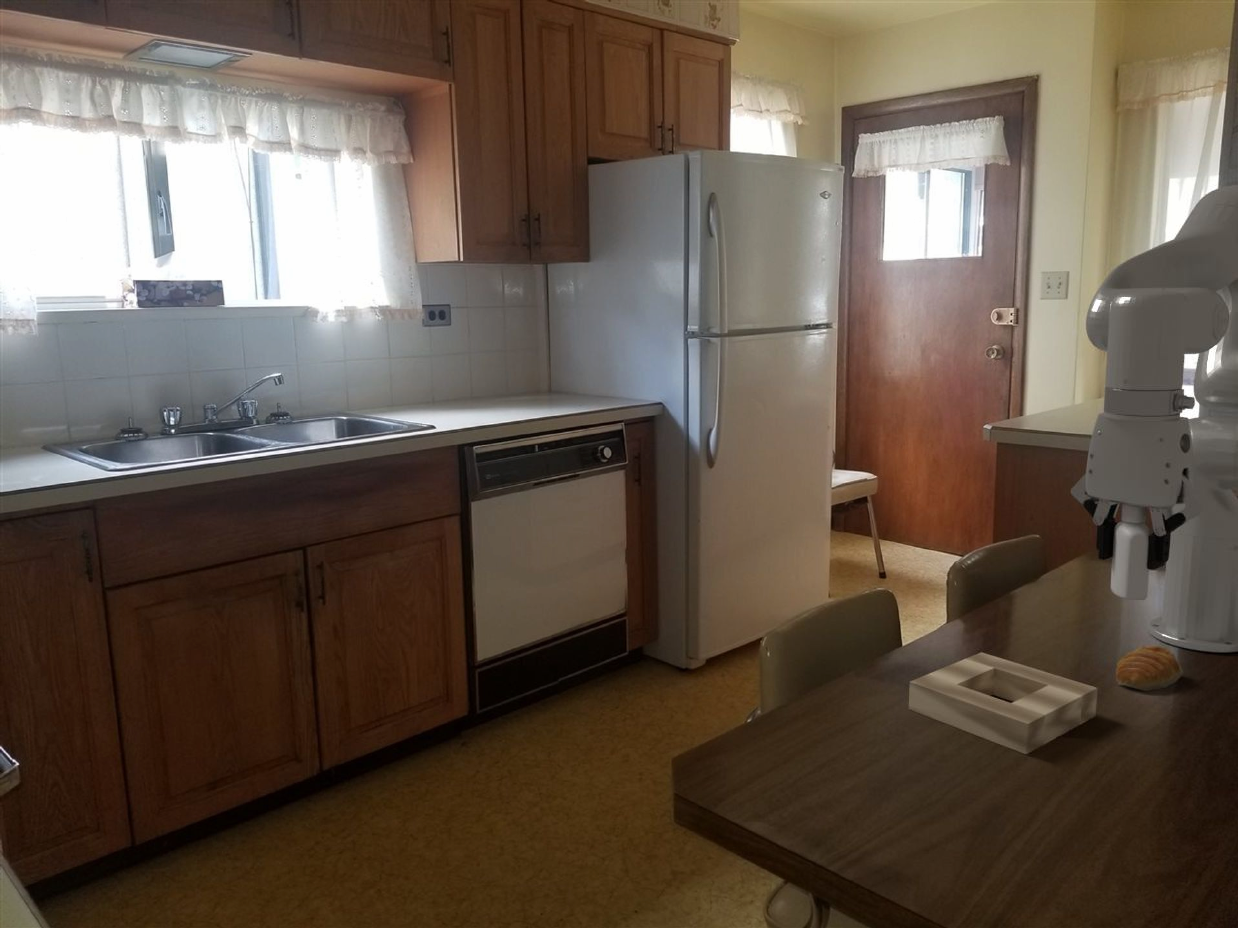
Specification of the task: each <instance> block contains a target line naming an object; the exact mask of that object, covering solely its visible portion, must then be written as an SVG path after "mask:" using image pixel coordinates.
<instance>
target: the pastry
mask: <svg viewBox="0 0 1238 928" xmlns="http://www.w3.org/2000/svg"><path fill="white" fill-rule="evenodd" d="M1183 674H1184V670H1183V668H1182V667H1181V665H1180V663H1179V661H1178V660H1177V658H1176V657H1175V654H1174V653H1173V652H1171V651H1170V650H1169V649H1167V648H1165V647H1162V646H1159V645H1150V646H1146V645H1141V646H1140V647H1139V648H1136V649H1134V650H1133V651H1130V652H1128V653H1125V655H1123V657H1122V658H1120V659H1119V660H1118V661H1117V664H1116V671H1115V681H1116V682H1117V684H1118V686H1127V687H1130V688H1132V689H1133V688H1134V689H1137V690H1140V691H1144V692H1145V691H1146V692H1149V691H1151V690H1158V689H1165V688H1167V687H1168V686H1171V685H1173V684H1174V683H1176V682H1177V681H1178V680H1179V679H1180V678H1181V677H1182V675H1183Z"/></svg>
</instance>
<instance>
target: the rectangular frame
mask: <svg viewBox="0 0 1238 928" xmlns="http://www.w3.org/2000/svg"><path fill="white" fill-rule="evenodd" d="M994 696H996V697H994ZM997 697H998V698H997ZM999 698H1001V699H999ZM1004 699H1005V700H1008V701H1005V700H1004ZM1009 701H1011V702H1009ZM1097 701H1098V687H1095V686H1092V685H1090V684H1089V685H1088V684H1086V683H1082V682H1079V681H1075V680H1073V679H1069V678H1067V677H1063V676H1060V675H1057V674H1053V673H1049V672H1046V671H1044V670H1041V669H1037V668H1034V667H1031V666H1028V665H1027V666H1026V665H1024V664H1021V663H1017V662H1013V661H1010V660H1008V659H1005V658H1001V657H998V656H995V655H992V654H991V655H990V654H988V653H985V652H979V653H977V654H974V655H970V656H969V657H966V658H964V659H962V660H959V661H957V662H954V663H952V664H950V665H946V666H944V667H942V668H940V669H937V670H935V671H932V672H930V673H928V674H925V675H922V676H920V677H918V678H915V679H913V680H911V681H909V691H908V710H910V711H913V712H915V713H918V714H920V715H923V716H926V717H928V718H931V719H933V720H935V721H938V722H941V723H944V724H946V725H949V726H951V727H954V728H956V729H959V730H961V731H964V732H967V733H970V734H972V735H975V736H977V737H979V738H981V739H985V740H987V741H989V742H993V743H996V744H998V745H1001V746H1003V747H1006V748H1009V749H1011V750H1014V751H1016V752H1019V753H1021V754H1024V755H1028V754H1029V753H1031V752H1033V751H1036V750H1037V749H1039V748H1040V747H1043V746H1045V745H1046V744H1047V743H1050V742H1052V741H1053V740H1055V739H1057V738H1059V737H1061V736H1062V735H1064V734H1066V733H1068V732H1070V731H1072V730H1074V728H1077V727H1079V726H1080V725H1082V724H1084V723H1086V722H1088V721H1089V719H1090V720H1091V719H1094V718H1095V717H1096V715H1097ZM1078 725H1079V726H1078ZM1069 730H1070V731H1069ZM1058 736H1059V737H1058ZM1056 737H1057V738H1056Z"/></svg>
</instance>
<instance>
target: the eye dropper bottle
mask: <svg viewBox="0 0 1238 928" xmlns="http://www.w3.org/2000/svg"><path fill="white" fill-rule="evenodd" d="M1146 515H1147V507H1140V506H1134V505H1127V504H1121V515H1120V517H1121V518H1120V520H1121V521H1119V522H1118V524H1117V525H1116V526H1115V529H1114V540H1113V556H1112V557H1111V558H1112V559H1111V576H1110V577H1111V578H1110V589H1111V592H1112V593H1113V594H1114V595H1116V596H1117V597H1119V598H1121V599H1124V600H1126V601H1129V600H1131V601H1145V600H1147V598H1148V592H1149V581H1150V580H1149V579H1150V578H1149V576H1150V569H1148V568H1147V562H1148V544H1149V541H1148V536H1149V535H1151V534H1152V533H1151V530H1150V529H1149V526H1147V525H1146V523H1145V522H1146Z"/></svg>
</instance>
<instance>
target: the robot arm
mask: <svg viewBox="0 0 1238 928" xmlns="http://www.w3.org/2000/svg"><path fill="white" fill-rule="evenodd" d="M1085 330H1086V334H1087V338H1088V340H1089V342H1090V343H1091V344H1092V345H1093V346H1094V347H1095V348H1096V349H1098V350H1100V351H1103V352H1106V365H1105V366H1106V367H1105V383H1104V386H1105V387H1104V398H1103V399H1104V401H1103V412H1102V413H1099V414H1097V417H1096V421H1095V422H1094V423H1095V424H1094V425H1093V426H1094V427H1093V430H1092V434H1091V438H1090V443H1089V449H1088V452H1087V453H1088V454H1087V460H1086V461H1087V462H1086V469H1085V470H1086V471H1085V473H1084V475H1083V476H1082V477H1080V479H1079V480H1077V482H1076V484H1074V486H1072V488H1071V489H1070V494H1071V495H1072V496H1073V498H1075V499H1076V500H1077V501H1078V502H1079V503H1080V504H1082V505H1083V508H1084V509H1085V510H1086V512H1088V514H1089V515H1090V517H1091V518H1092V522H1093V523H1094V525H1095V526H1096V527H1097V528H1096V529H1097V530H1096V545H1095V546H1096V547H1095V548H1096V550H1097V551H1098V555H1097V558H1098V560H1102V561H1106V560H1109V559H1110V558H1112V556H1113V540H1114V529H1115V526H1116V525H1117V524H1118V523H1119V522H1117V521H1116V514H1117V512H1118V510H1119V507H1120V504H1121V505H1122V504H1127V505H1134V506H1140V507H1146V509H1147V508H1148V509H1149V513H1150V519H1151V523H1152V529H1153V530H1152V533H1151V535H1149V536H1148V541H1149V544H1148V562H1147V568H1148V569H1149V571H1150V570H1151V571H1154V570H1157V569H1159V568H1162V567H1163V566H1165V574H1164V575H1165V576H1164V588H1163V601H1162V613H1161V616H1159V617H1156V618H1153V619H1152V620H1150V621H1149V624H1148V632H1149V634H1150V635H1152V636H1153V637H1154V638H1156V639H1157V640H1159V641H1161V642H1164V643H1167V644H1169V645H1172V646H1175V647H1180V648H1184V649H1188V650H1192V651H1200V652H1207V653H1235V652H1237V653H1238V497H1237V496H1236V495H1235V493H1234V491H1232V490H1238V418H1237V417H1226V416H1225V417H1222V416H1221V417H1220V416H1200V417H1191V418H1188V417H1184V416H1181V414H1182V413H1183V411H1185V410H1193V409H1194V408H1195V403H1196V402H1197V403H1198V404H1199V405H1200V406H1201V407H1204V408H1205V409H1210V410H1213V411H1214V410H1215V411H1219V412H1231V413H1238V184H1233V185H1228V186H1223V187H1219V188H1216V189H1214V190H1211V191H1209V192H1208V193H1206V194H1205V195H1204V196H1202V197H1201V198H1200V199H1199V200H1198V201H1197V203H1195V206H1194V207H1193V209H1192V210H1191V212H1190V213H1189V214H1188V216H1187V218H1186V220H1185V221H1184V223H1183V224H1182V226H1181V227H1180V229H1179V231H1178V232H1177V234H1176V235H1175V237H1174V238H1173V239H1171V240H1169V241H1166V242H1163V243H1161V244H1159V245H1156V246H1155V247H1152V248H1150V249H1148V250H1146V251H1144V252H1142V253H1139V254H1137V255H1135V256H1133V257H1131V258H1129V259H1127V260H1125V261H1124V262H1122V263H1120V264H1118V265H1117V266H1116V267H1115V268H1113V269H1112V270H1111V271H1110V273H1109V274H1108V275H1107V276H1106V277H1105V279H1104V280H1103V282H1102V283H1101V285H1100V286H1099V287H1098V288H1097V291H1096V292H1095V294H1094V296H1093V298H1092V300H1091V302H1090V304H1089V305H1088V310H1087V313H1086V318H1085ZM1195 354H1196V355H1197V354H1198V355H1197V362H1196V366H1195V371H1194V372H1195V373H1194V379H1193V396H1187V395H1186V394H1185V389H1183V382H1184V370H1185V368H1184V367H1185V355H1195Z"/></svg>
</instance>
